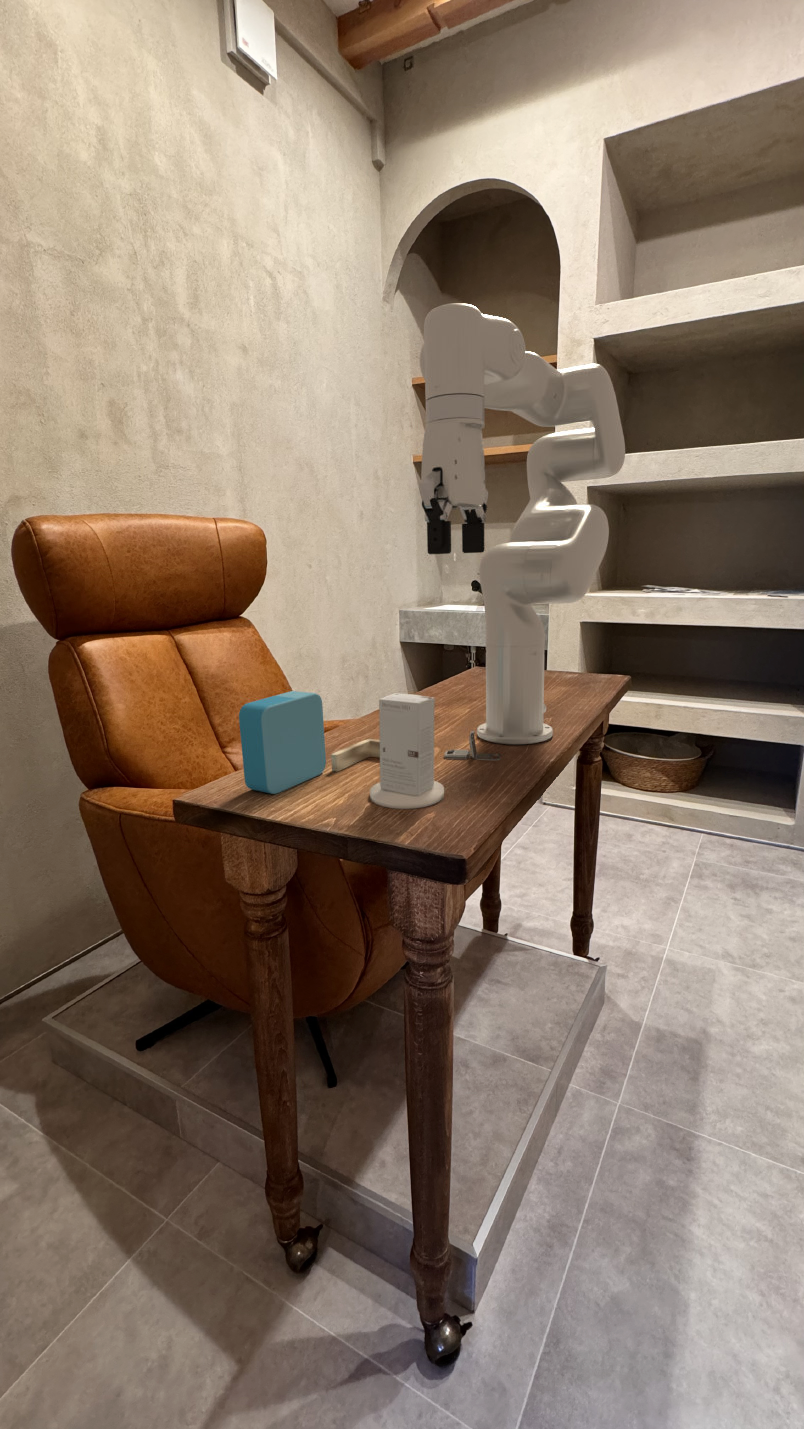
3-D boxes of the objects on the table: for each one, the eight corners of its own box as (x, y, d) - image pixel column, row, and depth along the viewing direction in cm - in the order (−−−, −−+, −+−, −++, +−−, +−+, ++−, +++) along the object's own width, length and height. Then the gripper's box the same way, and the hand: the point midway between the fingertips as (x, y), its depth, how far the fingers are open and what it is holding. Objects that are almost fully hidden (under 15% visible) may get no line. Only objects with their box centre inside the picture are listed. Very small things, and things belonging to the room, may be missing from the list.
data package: (303, 767, 100) (298, 688, 97) (327, 772, 98) (322, 691, 95) (244, 792, 90) (236, 705, 87) (269, 797, 88) (261, 708, 85)
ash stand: (369, 753, 106) (368, 738, 105) (426, 762, 100) (426, 746, 100) (332, 770, 98) (330, 754, 97) (392, 781, 92) (391, 763, 92)
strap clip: (443, 760, 102) (442, 734, 101) (446, 755, 105) (445, 728, 104) (499, 762, 100) (499, 735, 99) (501, 756, 103) (501, 729, 102)
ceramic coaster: (395, 779, 93) (395, 773, 93) (457, 789, 88) (457, 783, 88) (355, 801, 85) (355, 795, 85) (420, 814, 80) (419, 807, 80)
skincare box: (379, 790, 87) (375, 698, 84) (397, 779, 90) (394, 691, 88) (420, 797, 83) (417, 702, 81) (437, 786, 87) (435, 695, 84)
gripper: (460, 429, 95) (461, 553, 99) (394, 409, 81) (399, 555, 85) (509, 422, 91) (508, 551, 95) (449, 400, 77) (451, 553, 81)
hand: (457, 553), depth 90 cm, fingers open, 9 cm apart
